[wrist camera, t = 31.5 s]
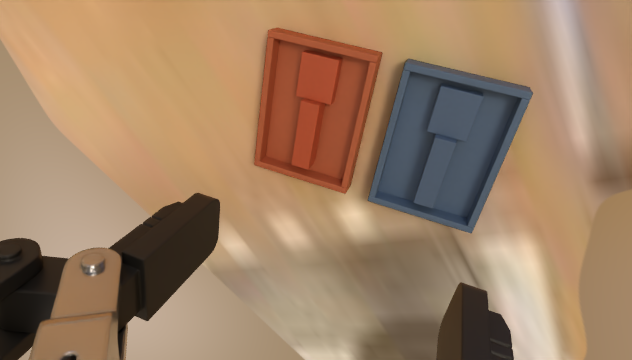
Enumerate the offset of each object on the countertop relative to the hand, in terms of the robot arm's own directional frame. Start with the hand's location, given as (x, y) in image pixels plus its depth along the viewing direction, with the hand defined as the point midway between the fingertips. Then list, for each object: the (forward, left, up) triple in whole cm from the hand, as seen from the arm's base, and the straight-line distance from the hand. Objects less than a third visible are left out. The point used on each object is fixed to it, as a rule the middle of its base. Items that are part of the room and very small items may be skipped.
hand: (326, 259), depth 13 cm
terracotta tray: (+4, -8, -25) cm, 27 cm away
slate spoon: (+5, +4, -25) cm, 26 cm away
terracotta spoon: (+5, -8, -25) cm, 27 cm away
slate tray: (+4, +4, -25) cm, 26 cm away
